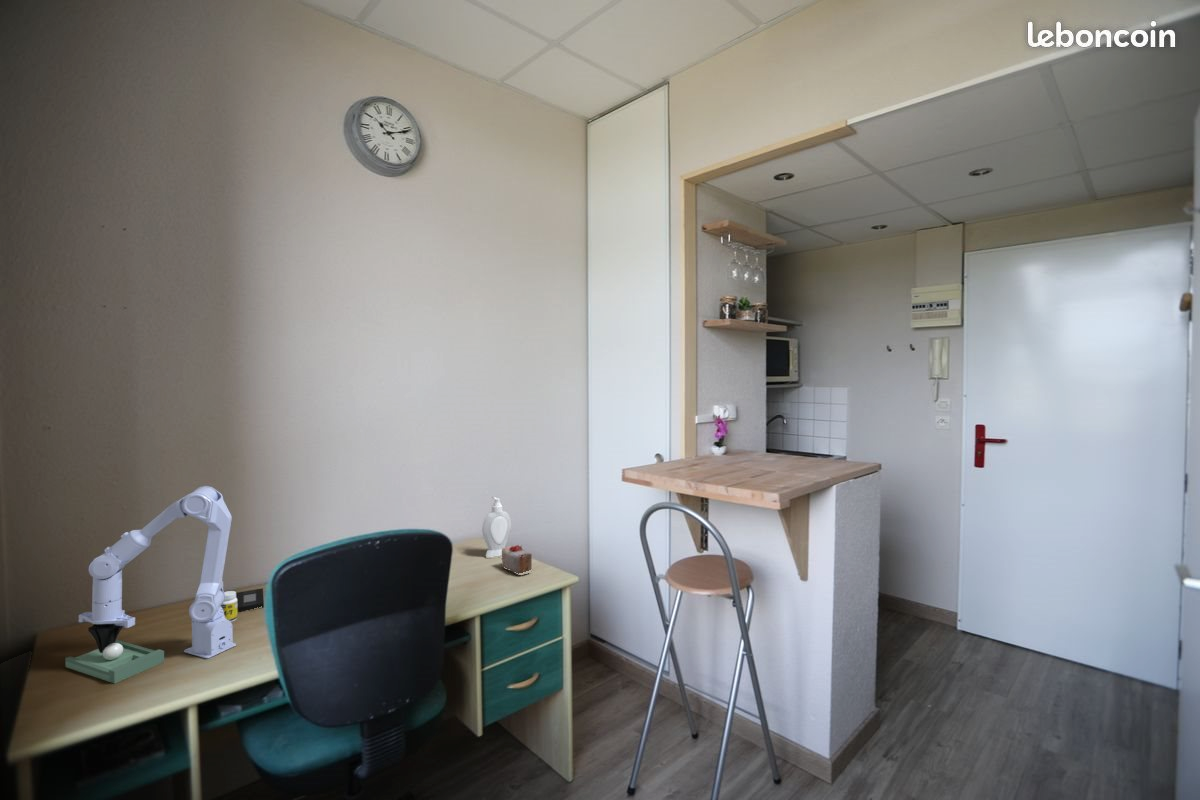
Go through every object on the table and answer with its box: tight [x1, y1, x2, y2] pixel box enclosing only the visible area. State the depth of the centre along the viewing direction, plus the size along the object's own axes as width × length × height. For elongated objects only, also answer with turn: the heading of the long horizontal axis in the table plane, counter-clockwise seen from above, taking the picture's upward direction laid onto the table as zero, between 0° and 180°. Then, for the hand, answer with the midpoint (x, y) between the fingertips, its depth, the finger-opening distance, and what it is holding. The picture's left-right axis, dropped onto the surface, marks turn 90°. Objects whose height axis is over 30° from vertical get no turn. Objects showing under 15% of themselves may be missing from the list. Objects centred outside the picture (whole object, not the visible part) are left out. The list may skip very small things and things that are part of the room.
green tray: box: [65, 638, 165, 684], centre depth 142 cm, size 20×11×3 cm, turn 69°
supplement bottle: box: [221, 590, 239, 623], centre depth 168 cm, size 5×5×8 cm
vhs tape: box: [236, 588, 265, 613], centre depth 182 cm, size 8×14×2 cm, turn 32°
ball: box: [103, 643, 123, 660], centre depth 142 cm, size 4×4×4 cm
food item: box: [501, 544, 533, 574], centre depth 215 cm, size 14×8×10 cm, turn 42°
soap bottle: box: [481, 496, 512, 557], centre depth 232 cm, size 13×8×24 cm, turn 123°
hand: (106, 651), depth 143 cm, fingers closed
